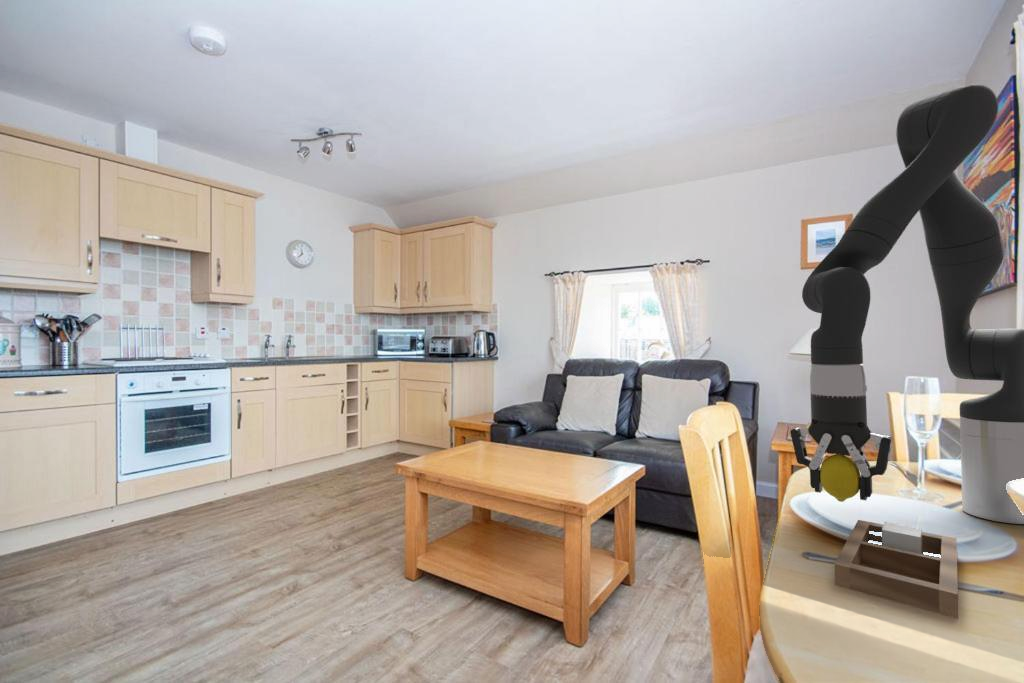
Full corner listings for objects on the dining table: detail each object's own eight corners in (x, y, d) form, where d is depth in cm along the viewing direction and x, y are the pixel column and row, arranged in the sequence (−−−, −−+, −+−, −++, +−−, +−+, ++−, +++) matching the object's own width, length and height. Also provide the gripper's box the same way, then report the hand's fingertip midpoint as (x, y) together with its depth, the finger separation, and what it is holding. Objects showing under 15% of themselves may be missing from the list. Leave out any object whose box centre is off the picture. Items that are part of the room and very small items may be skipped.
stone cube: (885, 550, 68) (884, 521, 68) (922, 558, 65) (921, 528, 65) (882, 559, 65) (881, 529, 65) (921, 568, 62) (920, 537, 62)
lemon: (849, 496, 81) (847, 448, 81) (869, 507, 75) (867, 456, 75) (814, 496, 81) (812, 449, 81) (831, 507, 76) (830, 456, 76)
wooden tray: (858, 546, 73) (858, 519, 73) (957, 567, 66) (956, 538, 66) (835, 596, 58) (834, 563, 58) (958, 632, 51) (957, 594, 51)
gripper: (781, 391, 80) (785, 492, 80) (890, 396, 71) (894, 511, 70) (793, 387, 86) (797, 482, 86) (896, 391, 76) (899, 498, 76)
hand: (840, 494), depth 78 cm, fingers closed on lemon, 5 cm apart
